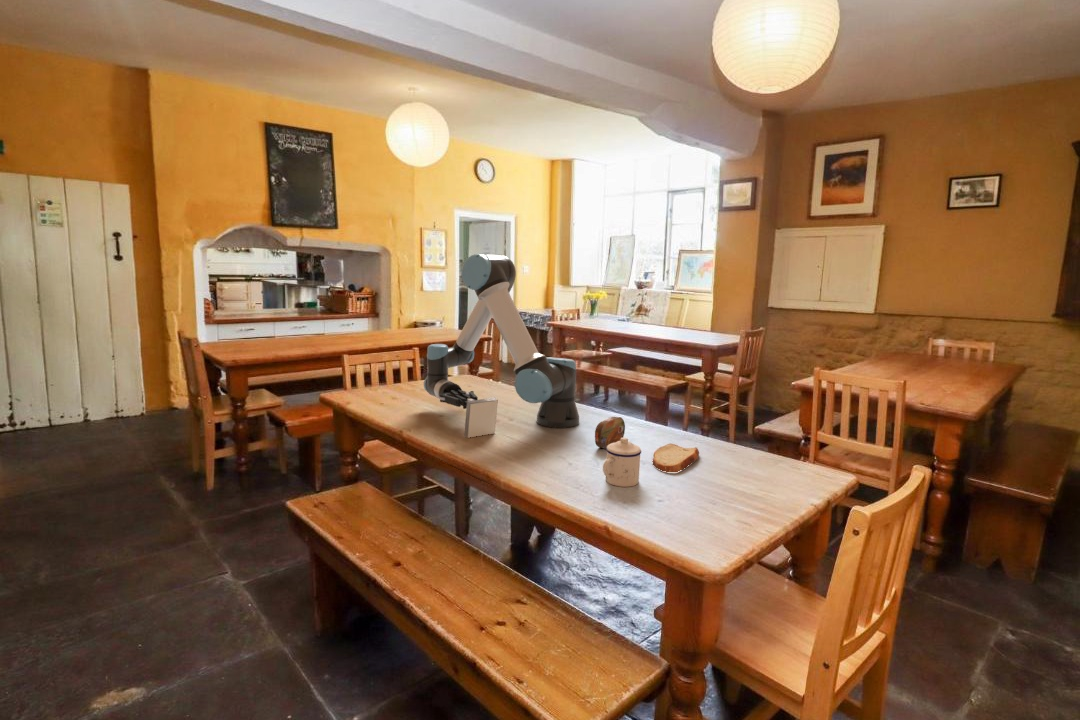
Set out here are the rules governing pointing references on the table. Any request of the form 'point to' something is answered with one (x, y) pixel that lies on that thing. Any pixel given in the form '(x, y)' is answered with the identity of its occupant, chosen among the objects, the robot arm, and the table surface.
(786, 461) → the table surface
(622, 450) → the teacup with lid
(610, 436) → the tin
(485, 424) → the ceramic tile
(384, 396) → the table surface
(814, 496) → the table surface
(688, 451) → the bread slice
